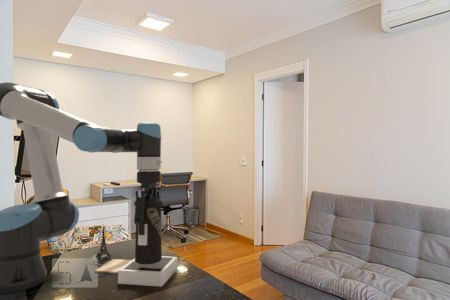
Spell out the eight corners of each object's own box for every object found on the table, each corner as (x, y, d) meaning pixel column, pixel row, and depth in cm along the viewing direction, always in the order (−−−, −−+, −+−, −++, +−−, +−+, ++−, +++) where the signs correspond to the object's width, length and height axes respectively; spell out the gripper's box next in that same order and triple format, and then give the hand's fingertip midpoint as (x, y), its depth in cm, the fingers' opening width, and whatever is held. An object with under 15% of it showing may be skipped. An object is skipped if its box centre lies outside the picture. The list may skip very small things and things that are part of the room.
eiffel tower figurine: (103, 251, 122) (103, 219, 122) (125, 253, 119) (125, 220, 120) (77, 264, 107) (77, 227, 108) (101, 267, 105) (101, 229, 105)
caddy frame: (118, 283, 90) (118, 270, 90) (139, 266, 103) (139, 255, 104) (161, 286, 87) (161, 272, 87) (177, 268, 101) (177, 256, 101)
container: (155, 266, 90) (155, 200, 91) (128, 264, 92) (129, 199, 92) (166, 256, 99) (166, 196, 99) (141, 254, 101) (142, 196, 101)
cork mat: (94, 272, 99) (94, 270, 99) (112, 260, 109) (112, 259, 110) (125, 274, 97) (125, 272, 97) (140, 262, 108) (140, 260, 108)
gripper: (146, 172, 85) (145, 251, 85) (171, 169, 106) (170, 233, 105) (121, 172, 86) (121, 250, 86) (151, 168, 107) (150, 232, 106)
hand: (148, 240), depth 96 cm, fingers closed on container, 8 cm apart
